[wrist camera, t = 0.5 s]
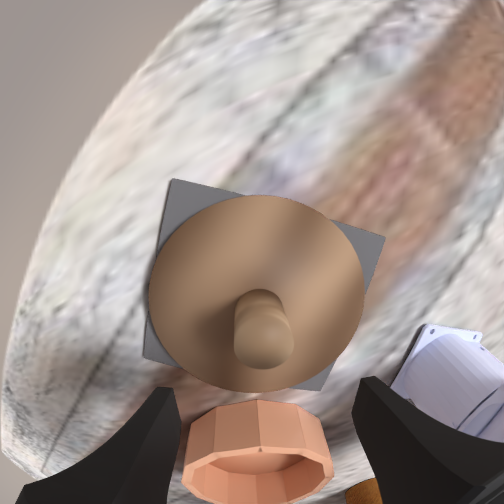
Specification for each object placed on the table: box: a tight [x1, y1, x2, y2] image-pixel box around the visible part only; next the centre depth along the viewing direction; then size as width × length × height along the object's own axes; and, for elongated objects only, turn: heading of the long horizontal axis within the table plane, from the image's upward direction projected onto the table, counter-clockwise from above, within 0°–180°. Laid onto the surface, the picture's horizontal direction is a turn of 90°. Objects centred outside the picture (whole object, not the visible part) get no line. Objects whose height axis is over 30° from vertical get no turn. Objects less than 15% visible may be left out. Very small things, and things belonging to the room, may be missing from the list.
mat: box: [144, 178, 386, 391], centre depth 18 cm, size 14×13×1 cm
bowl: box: [181, 400, 334, 504], centre depth 20 cm, size 13×13×5 cm
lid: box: [148, 195, 365, 393], centre depth 16 cm, size 14×14×5 cm
